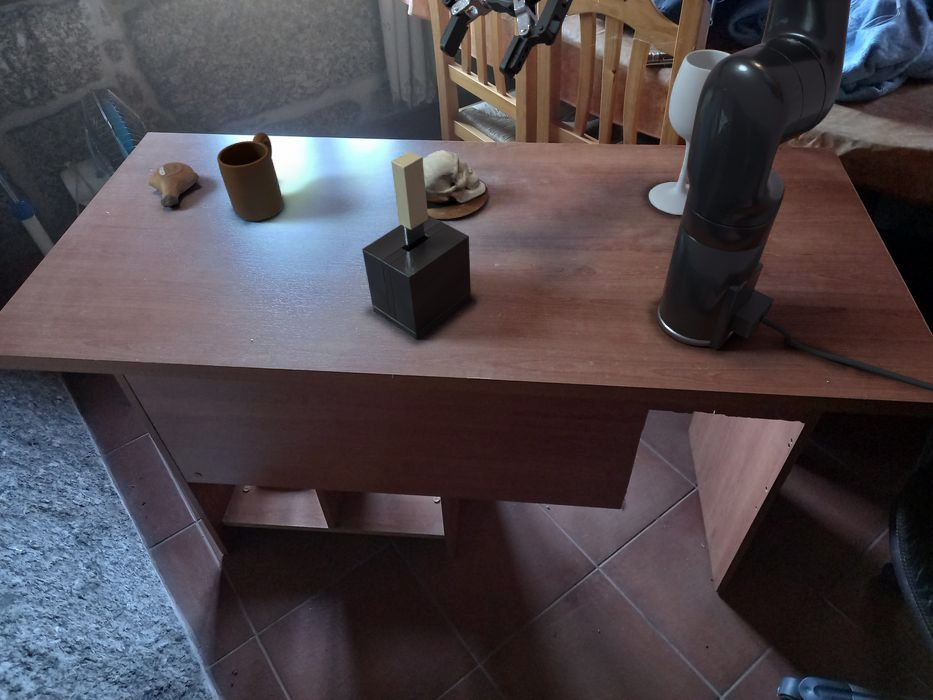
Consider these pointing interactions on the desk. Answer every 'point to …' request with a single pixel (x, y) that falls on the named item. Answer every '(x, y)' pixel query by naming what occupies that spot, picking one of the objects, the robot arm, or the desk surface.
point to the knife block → (419, 276)
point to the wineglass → (684, 122)
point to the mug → (251, 178)
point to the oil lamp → (172, 181)
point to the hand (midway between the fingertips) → (474, 64)
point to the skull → (451, 186)
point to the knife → (410, 197)
